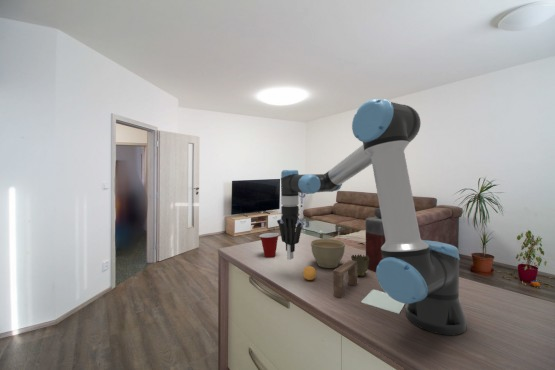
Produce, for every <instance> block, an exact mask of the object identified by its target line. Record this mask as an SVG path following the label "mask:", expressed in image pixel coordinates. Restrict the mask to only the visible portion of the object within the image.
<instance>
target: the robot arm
mask: <svg viewBox="0 0 555 370" xmlns="http://www.w3.org/2000/svg"><path fill="white" fill-rule="evenodd" d="M421 124H422V123H421V118H420V114H419V113H418V112H417V110H415V108H413V107H412V106H410V105H406V104H401V103H397V102H393V101H391V100H388V99H380V98H372V99H369V100H367V101H365V102H364V103H362V104H361V105H360V106H359V107H358V109H357V110H356V113H355V114H354V116H353V118H352V123H351V129H352V130H351V131H352V134H353V135H354V138H355V139H357V140H358V141H360V142H362V145H360V146H359V147H358V148H356V149H355V150H354V151H353V152H352V153H350V154H349V155H348V156H346V157H345V158H344V159H342V160H341V161H340V162H338V163H337V164H336V165H335V166H333V167H332V168H331V169H329V170H328V171H326V172H325V173H320V174H319V173H318V174H317V173H316V174H313V173H311V174H309V173H306V174H299V170H297V169H283V170H282V171H281V174H280V176H281V177H280V192H281V193H280V194H281V195H280V198H281V199H280V201H281V202H280V203H281V204H280V205H282V206H281V209H280V210H281V212H280V213H281V218H280V219H278V220H276V223H277V224H278V227H279V234H280V239H281V242H282V243H285V251H286V253H287V254H286V260H289V261H290V260H292V259H294V253H295V251H296V250H295V249H296V248H295V247H296V245H297V244H299V243H300V238H301V233H302V229H303V227H304V222H303V221H301V220H300V218H299V213H300V211H299V208H300V207H299V196H300V195H299V193H301V194H306V195H309V194H310V195H312V194H316V193H325V192H326V193H330V192H331V193H332V192H337V191H339V190H340V189H341V188H342V186H343V184H344V183H345V182H346V181H348V180H350V179H351V178H353V177H355V176H356V175H357V174H359V173H361V171H363V170H365V169H366V168H368V167H369V166H371V165H372V169H373V176H374V181H375V188H376V194H377V198H378V199H377V200H378V204H379V208H380V211H381V217H382V223H383V229H384V234H385V240H386V241H385V243H384V245H383V246H382V247H381V252H382V258H383V260H381V261H380V262H379V265H378V266H377V269H376V272H375V273H376V279H377V282H378V284H379V285H380V287H381V289H382V290H383V292H385V293H387V294H388V295H389V296H390V297H391V298H393V299H394V300H396V301H398V302H401V303H405V316H406V317H407V319H408V320H409V321H410V322H411V323H412V324H413V325H415V326H417V327H419V328H421V329H423V330H425V331H428V332H431V333H434V334H439V335H445V336H456V335H461V334H463V333H465V332H466V330H467V318H466V314H465V313H464V309H463V307H462V305H461V302H460V298H459V296H460V295H459V292H460V261H461V258H460V251H459V249H458V247H456V246H455V245H453V244H449V243H445V242H440V241H433V240H427V239H425V240H424V239H422V238H421V233H420V228H419V224H418V219H417V217H418V216H417V212H416V209H415V207H416V206H415V201H414V196H413V190H412V185H411V181H410V180H411V179H410V175H409V171H408V170H409V169H408V165H407V161H406V160H407V158H406V154H405V150H406V148H407V147H408V146H409V144H410V143H411V142H412V141H413V140H414V139H415V138H416V136H417V135H418V134H419V132H420V128H421Z"/></svg>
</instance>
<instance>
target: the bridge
mask: <svg viewBox="0 0 555 370" xmlns="http://www.w3.org/2000/svg"><path fill="white" fill-rule="evenodd" d="M346 273H347V285H350V286H354V287H356V286H357V285H358V275H357V261H353V260H352V259H349V260H347V261H346V262H344V263H343V264H341V265H340V266H337V267H336V268H335V269H334V270H333V279H332V280H333V281H332V282H333V284H332V285H333V287H332V288H333V297H336V298H337V299H338V298H339V299H342V298H343V297H344V296H345V291H344V290H345V288H344V287H345V282H344V281H345V280H344V278H345V277H344V275H345V274H346Z"/></svg>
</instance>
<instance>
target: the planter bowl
mask: <svg viewBox="0 0 555 370" xmlns="http://www.w3.org/2000/svg"><path fill="white" fill-rule="evenodd" d="M310 245H311V252H312V256H313V257H314V259H315V261H316V263H317V265H318V266H319V267H321V268H325V269H334V268H338V267H339V263H340V262H341V260H342V258H343V256H344V253H345V250H346V249H345V248H346V243H345V242H344V241H342V240H338V239H333V238H319V239H313V240H311V241H310Z"/></svg>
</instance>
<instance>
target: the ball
mask: <svg viewBox="0 0 555 370" xmlns="http://www.w3.org/2000/svg"><path fill="white" fill-rule="evenodd" d="M302 275H303V277H304V279H306V280H307V281H312V280H314V279H316V276H317V271H316V268H315V267H313V266H311V265H308V266H305V267H304V268H303V271H302Z"/></svg>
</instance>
